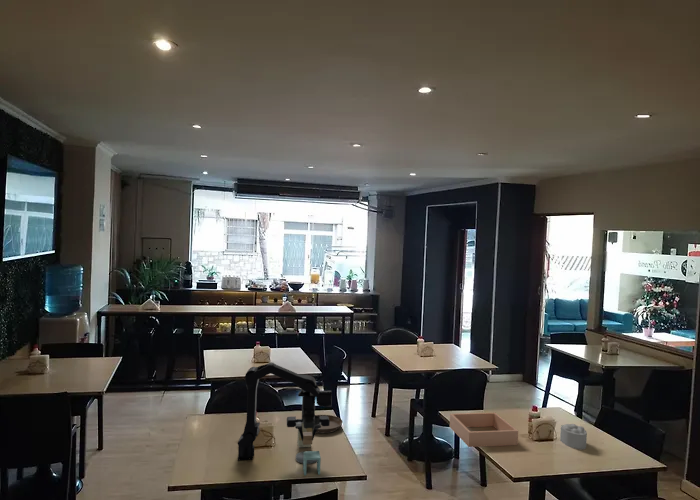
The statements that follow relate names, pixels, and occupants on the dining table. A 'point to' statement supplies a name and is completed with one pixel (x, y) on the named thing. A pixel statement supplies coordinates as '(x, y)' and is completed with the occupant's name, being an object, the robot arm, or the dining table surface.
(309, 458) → the teal arch
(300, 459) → the grey domed disc
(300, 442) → the skincare box
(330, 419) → the plant saucer
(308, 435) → the walnut block
